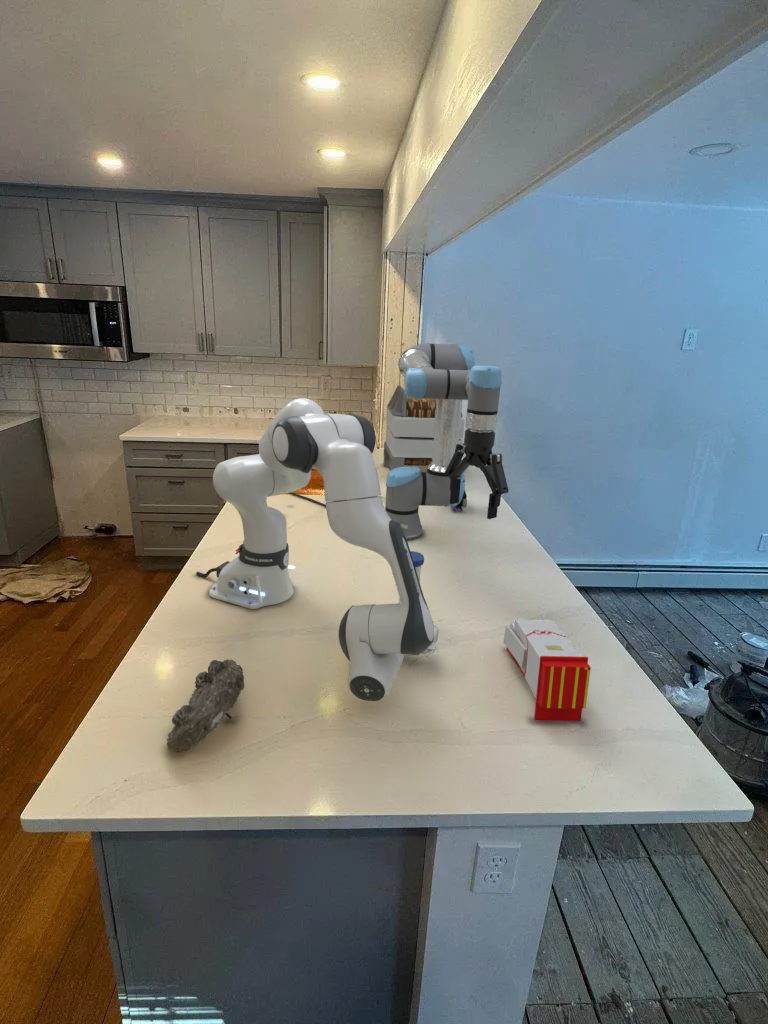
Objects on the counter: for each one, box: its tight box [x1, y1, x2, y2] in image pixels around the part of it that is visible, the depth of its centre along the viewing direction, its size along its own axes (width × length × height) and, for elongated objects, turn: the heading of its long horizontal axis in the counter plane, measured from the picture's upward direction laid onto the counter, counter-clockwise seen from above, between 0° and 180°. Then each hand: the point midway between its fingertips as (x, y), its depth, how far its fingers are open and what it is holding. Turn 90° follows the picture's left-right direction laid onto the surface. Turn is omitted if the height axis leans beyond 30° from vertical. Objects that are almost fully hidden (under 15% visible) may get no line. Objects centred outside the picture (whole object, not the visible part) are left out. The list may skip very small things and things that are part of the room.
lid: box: [410, 550, 425, 567], centre depth 141 cm, size 6×6×2 cm
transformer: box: [383, 384, 466, 471], centre depth 268 cm, size 34×33×41 cm
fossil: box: [166, 658, 245, 754], centre depth 106 cm, size 22×10×15 cm
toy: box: [503, 618, 592, 722], centre depth 122 cm, size 12×13×30 cm
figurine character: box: [450, 489, 468, 512], centre depth 228 cm, size 7×8×15 cm
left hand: (400, 614), depth 135 cm, fingers open, 8 cm apart
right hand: (472, 510), depth 148 cm, fingers open, 13 cm apart
